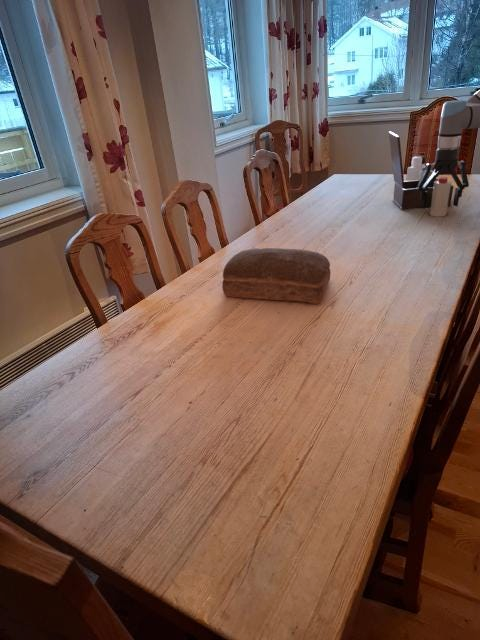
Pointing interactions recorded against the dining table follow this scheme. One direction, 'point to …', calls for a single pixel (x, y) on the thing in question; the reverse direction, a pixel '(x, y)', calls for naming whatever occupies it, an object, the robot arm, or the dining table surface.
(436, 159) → the robot arm
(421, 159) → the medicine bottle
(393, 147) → the lid
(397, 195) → the open box
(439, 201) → the bottle
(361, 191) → the dining table surface
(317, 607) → the dining table surface
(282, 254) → the bread
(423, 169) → the food container
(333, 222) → the dining table surface
